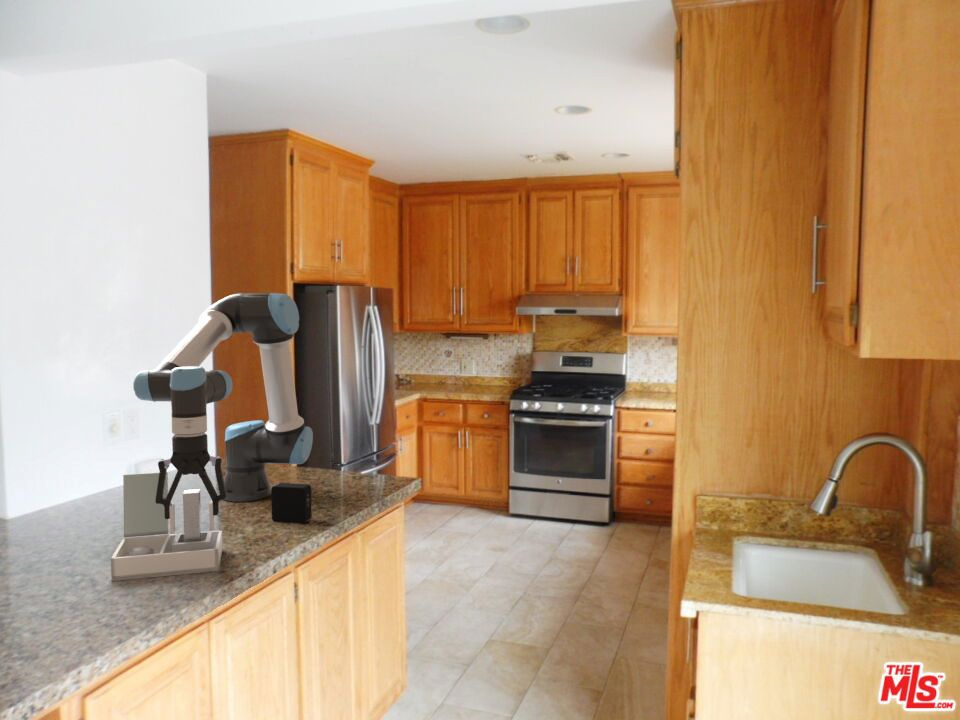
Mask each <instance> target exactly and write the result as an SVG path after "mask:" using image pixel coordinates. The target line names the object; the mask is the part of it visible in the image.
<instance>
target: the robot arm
mask: <svg viewBox="0 0 960 720" xmlns="http://www.w3.org/2000/svg"><path fill="white" fill-rule="evenodd" d="M299 313H300V312H299V309H298V306H297V303H296V301H295V300H294V299H293V298H292V297H291V296H290V295H289V294H286V293H277V292H262V293H261V292H258V293H257V292H256V293H253V292H249V293H245V292H239V293H238V292H237V293H234V294H230V295H228V296H225V297H224V298H222V299H219V300H218V301H217V302H214V303H213V304H211V305H210V306H209V307H208V308H207V309H206V310H205V311H203V313H202V314H201V315H200V317H199V318H198V323H197V324H196V325H195V326H194V328H193V329H192V330H190V332H189V333H188V334H187V335H186V336H185V337H184V338H183V339H182V340H181V341H179V343H178V344H177V345H176V347H174V349H172V351H171V352H170V353H169V354H168V355H167V356H166V357H165V358H164V359H163V361H161V363H159V365H157V366H156V367H155V369H153V370H152V369H147V370H141V371H139V372H138V373H137V374H136V375H135V377H134V380H133V383H132V384H133V387H132V388H133V391H134V394H135V396H136V397H137V398H138V399H139V400H141V401H147V402H148V401H149V402H154V403H155V402H171V403H170V405H171V406H170V407H171V433H172V434H173V435H172V438H171V441H172V443H171V444H172V449H171V450H172V454H171V457H170V458H166V459H164V458H161V459H160V460H159V461H158V463H157V466H158V469H159V472H158V473H159V480H158V486H157V493H156V500H155V502H156V503H157V504H162V505H164V511H165V519H168V520H169V535H170V534H175V533H176V509H175V508H176V506H175V502H172V499H173V497H174V495H175V492H176V490H177V488H178V485H179V483H180V481H181V478H182V476H185V475H186V476H187V475H190V474H191V475H198V476H199V478H200V480H201V481H202V483H203V485H204V488H205V489H206V491H207V493H208V495H209V497H210V499H211V500H209V503H208V506H209V509H208V510H209V511H208V512H209V513H208V514H209V531H215V530H214V529H215V516H218V515H219V512H220V511H219V509H220V508H219V507H220V506H219V505H220V504H219V502H221V501H222V500H223V501H226V502H227V501H228V502H234V503H235V502H236V503H238V502H240V503H241V502H252V501H253V502H254V501H258V500H262V499H266V498H268V497H269V496H271V488H272V485H271V482H270V480H269V476H268V474H267V471H266V464H269V465H273V464H274V465H289V466H292V465H303V464H304V463H305V462H306V461H307V460H308V459H309V456H310V454H311V450H312V448H313V447H312V446H313V441H314V433H313V429H312V428H311V427H310V426H306V425H305V420H304V418H303V417H302V416H300V415H299V413H298V412H299V411H298V404H297V403H298V402H297V396H296V388H295V387H296V386H295V378H294V370H293V363H292V355H291V353H292V352H291V347H290V342H291V341H292V340H294V338H295V337H294V334H295V333H296V332H298V331H299V328H300V327H299V326H300V323H299V322H300V314H299ZM235 334H251V337H252V342H253V344H255V345H257V347H259V354H260V362H261V371H262V375H263V383H264V389H265V390H264V391H265V397H266V404H267V411H268V413H267V414H268V420H267V421H266V423H265V422H264V420H261V419H260V420H259V419H257V420H249V421H243V422H238V423H237V422H236V423H233V424H231V425H229V426H227V427H226V428H225V433H224V434H225V435H224V445H225V446H224V447H225V450H224V451H225V471H226V472H225V475H223V471H222V470H223V469H222V466H221V465H222V461H223V457H222V456H221V455H218V456H213V455H210V453H209V450H208V448H209V447H208V434H207V431H208V417H207V416H208V414H207V405H208V404H212V403H216V402H218V403H219V402H221V401H222V400H224V399H226V398H227V397H229V396H230V394H231V392H233V391H232V390H233V381H232V380H233V379H232V377H231V376H230V375H229V374H228V373H227V372H225V371H224V370H220V369H216V370H215V369H211V370H208V371H206V370H205V368H204V367H202V366H201V364H203V362H204V361H205V360H206V359H207V358H208V356H209V355H210V354H211V353H212V352H213V351H214V350H215V348H216V347H217V346H218V345H219V344H220V343H221V342H222V341H225V340H227V339H229V338H230V337H231V336H232V335H235ZM209 462H210V463H211V465H212V467H214V471H215V472H214V473H215V477H216V482H217V487H218V492H219V493H217V491H216V489H215V487H214V485H213V483H212V481H211V479H210V477H209V475H208V473H207V470H206V468H205V467H206V466H207V464H208V463H209ZM170 464H171V465H173V467H174V468H175V469H176V470H177V472H176V473H175V476H174V479H173V480H172V483H171V485H170V488H169V489H168V495H167V497H166V498H164V497H163V492H164V485H165V479H166V472H168V471H167V470H168V469H169V468H170Z"/></svg>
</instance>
